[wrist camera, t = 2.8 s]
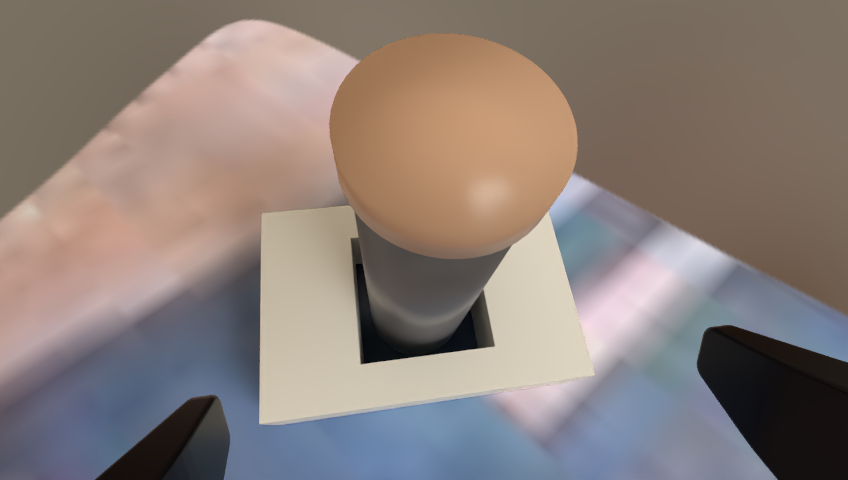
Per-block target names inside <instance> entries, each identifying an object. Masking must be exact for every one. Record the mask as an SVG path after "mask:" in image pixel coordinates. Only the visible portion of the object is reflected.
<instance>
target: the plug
mask: <svg viewBox="0 0 848 480" xmlns="http://www.w3.org/2000/svg"><path fill="white" fill-rule="evenodd" d="M329 124H330V139H331V144H332V148H333V153H334V158H335V163H336V168H337V173H338V177H339V182H340V185H341V187H342V190H343V193H344V195H345V197H346V199H347V200H348V202H349V204H350V206H351V207H352V209H353V210H354V212H355V218H356V224H357V230H358V237H359V243H360V249H361V255H362V261H363V267H364V273H365V279H366V285H367V292H368V298H369V304H370V310H371V316H372V321H373V325H374V327H375V330H376V331H377V333H378V335H379V336H380V338H381V339H382V340H383V341H384V342H385V343H386V344H387V345H388V346H390V347H391V348H393V349H394V350H397V351H399V352H401V353H405V354H410V355H422V354H427V353H430V352H433V351H435V350H437V349H439V348H441V347H442V346H443V345H444V344H446V343H447V342H448V341H449V339H450V338H451V337H452V335H453V334H454V332H455V331H456V329H457V328H458V326H459V325H460V323H461V322H462V320H463V319H464V317H465V316H466V314H467V313H468V311H469V310H470V308H471V307H472V305H473V304H474V302H475V301H476V299H477V298H478V296H479V295H480V293H481V292H482V290H483V289H484V287H485V286H486V284H487V283H488V281H489V279H490V278H491V276H492V275H493V273H494V272H495V270H496V269H497V267H498V266H499V264H500V263H501V261H502V260H503V258H504V257H505V255H506V254H507V252H508V251H509V249H510V248H511V246H512V245H513V244H515V243H517V242H518V241H519V240H521V239H522V238H523V237H525V236H526V235H528V234H529V233H530V232H531V231H532V230H533V229H534V228H535V227H536V226H537V225H538V224H539V222H540V221H541V220H542V218H543V217H544V216H545V214H546V213H547V211H548V210H549V209H550V207H551V206H552V205H553V203H554V202H555V200H556V199H557V198H558V196H559V195H560V193H561V192H562V191H563V189H564V188H565V186H566V184H567V182H568V180H569V179H570V177H571V175H572V172H573V169H574V165H575V162H576V156H577V149H578V147H577V130H576V125H575V121H574V118H573V115H572V112H571V109H570V107H569V105H568V103H567V101H566V99H565V97H564V96H563V94H562V93H561V91H560V90H559V88H558V87H557V86H556V84H555V83H554V82H553V81H552V80H551V78H550V77H549V76H548V75H547V74H546V73H544V72H543V71H542V70H541V69H540V68H539V67H538V66H537V65H535V64H534V63H532V62H531V61H530V60H529V59H527V58H525V57H524V56H522V55H521V54H519V53H517V52H515V51H514V50H511V49H509V48H507V47H505V46H503V45H500V44H497V43H495V42H492V41H489V40H486V39H482V38H478V37H474V36H468V35H462V34H449V33H441V34H440V33H439V34H426V35H418V36H413V37H409V38H405V39H402V40H398V41H396V42H393V43H390V44H388V45H386V46H384V47H382V48H380V49H378V50H376V51H375V52H373V53H371V54H370V55H368V56H367V57H365V58H364V59H363V60H362V61H361V62H359V63H358V64H357V65H356V66H355V67H354V68H353V69H352V70H351V72H350V73H349V74H348V75H347V76H346V78H345V79H344V81H343V82H342V84H341V85H340V87H339V89H338V91H337V94H336V96H335V98H334V101H333V105H332V108H331V115H330V123H329Z"/></svg>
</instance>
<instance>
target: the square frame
mask: <svg viewBox="0 0 848 480" xmlns="http://www.w3.org/2000/svg"><path fill="white" fill-rule="evenodd" d="M362 263H363V261H362V255H361V249H360V243H359V237H358V230H357V224H356V218H355V212H354V210H353V209H352V207H351V206H350V205H347V206H336V207H325V208H314V209H302V210H291V211H280V212H268V213H261V304H260V409H259V424H268V425H284V424H291V423H297V422H304V421H311V420H318V419H324V418H331V417H338V416H345V415H352V414H358V413H365V412H372V411H379V410H386V409H392V408H399V407H406V406H413V405H420V404H426V403H433V402H440V401H447V400H454V399H460V398H467V397H474V396H481V395H488V394H494V393H501V392H508V391H515V390H522V389H528V388H535V387H542V386H549V385H556V384H562V383H567V382H571V381H575V380H578V379H582V378H586V377H590V376H593V375H595V373H594V370H593V366H592V363H591V359H590V356H589V352H588V349H587V345H586V342H585V338H584V335H583V331H582V328H581V324H580V321H579V317H578V314H577V310H576V306H575V303H574V299H573V296H572V292H571V289H570V285H569V282H568V278H567V275H566V271H565V268H564V264H563V261H562V257H561V254H560V250H559V247H558V243H557V240H556V236H555V233H554V229H553V226H552V222H551V219H550V215H549V212H548V211H547V213H546V214H545V216H544V217H543V218H542V220H541V221H540V222H539V224H538V225H537V226H536V227H535V228H534V229H533V230H532V231H531V232H530V233H529V234H528V235H526V236H525V237H523V238H522V239H521V240H519V241H518V242H517V243H515V244H513V245H512V246H511V248H510V249H509V251H508V252H507V254H506V255H505V257H504V258H503V260H502V261H501V263H500V264H499V266H498V267H497V269H496V270H495V272H494V273H493V275H492V276H491V278H490V279H489V281H488V283H487V284H486V286H485V287H484V289H483V290H482V292H481V293H480V295H479V296H478V298H477V299H476V301H475V302H474V304H473V305H472V307H471V314H472V319H473V324H474V330H475V335H476V340H477V346H478V349H472V350H465V351H457V352H450V353H442V354H435V355H427V356H420V357H412V358H405V359H397V360H390V361H382V362H375V363H367V364H364V356H363V344H362V332H361V320H360V308H359V296H358V284H357V272H356V264H362Z"/></svg>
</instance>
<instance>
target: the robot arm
mask: <svg viewBox="0 0 848 480" xmlns="http://www.w3.org/2000/svg"><path fill="white" fill-rule="evenodd" d="M697 368H698V371H699V374H700V376H701V377H702V379H703V380H704V381H705V383H706V384H707V386H708V387H709V388H710V390H711V391H712V393H713V394H714V396H715V397H716V398H717V400H718V401H719V403H720V404H721V406H722V407H723V408H724V410H725V411H726V413H727V414H728V416H729V417H730V418H731V420H732V421H733V423H734V424H735V425H736V427H737V428H738V430H739V431H740V433H741V434H742V435H743V437H744V438H745V440H746V441H747V442H748V444H749V445H750V446H751V448H752V449H753V450H754V451H755V453H756V454H757V455H758V456H759V458H760V459H761V460H762V461H763V463H764V464H765V465H766V466H767V467H768V469H769V470H770V471H771V472H772V473H773V475H774V476H775V477H776V478H777V479H778V480H848V363H847V362H844V361H841V360H838V359H835V358H832V357H829V356H826V355H822V354H819V353H816V352H813V351H810V350H807V349H804V348H801V347H797V346H794V345H791V344H788V343H785V342H782V341H779V340H776V339H773V338H769V337H766V336H763V335H760V334H757V333H754V332H751V331H748V330H744V329H741V328H738V327H735V326H732V325H722V326H714V327H710V328H708V329H706V331H705V332H704V334H703V338H702V342H701V346H700V350H699V354H698V359H697ZM229 445H230V434H229V429H228V425H227V422H226V418H225V415H224V411H223V408H222V405H221V401H220V399H219V398H218V397H217V396H215V395H208V396H201V397H194V398H191V399H189V400H188V401H186V402H185V403H184V404H183V405H182V406H180V407H179V408H178V409H177V410H176V411H175V412H173V413H172V414H171V415H170V416H169V417H168V418H166V419H165V420H164V421H163V422H162V423H161V424H159V425H158V426H157V427H156V428H155V429H154V430H152V431H151V432H150V433H149V434H148V435H146V436H145V437H144V438H143V439H142V440H141V441H139V442H138V443H137V444H136V445H135V446H134V447H132V448H131V449H130V450H129V451H128V452H127V453H125V454H124V455H123V456H122V457H121V458H120V459H118V460H117V461H116V462H115V463H114V464H113V465H111V466H110V467H109V468H108V469H107V470H105V471H104V472H103V473H102V474H101V475H100V476H98V477H97V478H96V479H95V480H224V475H225V469H226V463H227V457H228V452H229Z"/></svg>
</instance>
